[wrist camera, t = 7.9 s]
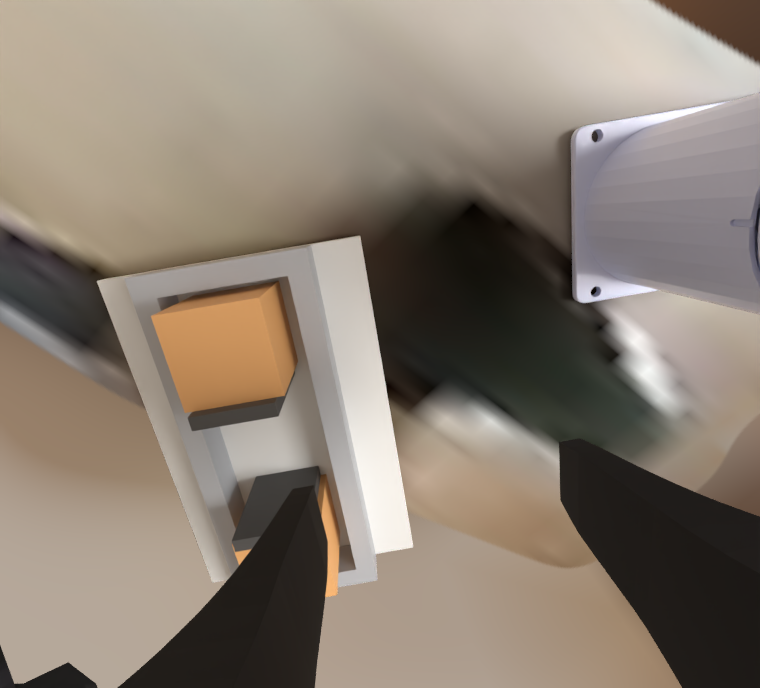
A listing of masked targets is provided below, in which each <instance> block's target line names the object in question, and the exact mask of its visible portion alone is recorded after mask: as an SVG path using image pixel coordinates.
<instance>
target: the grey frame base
mask: <svg viewBox="0 0 760 688" xmlns="http://www.w3.org/2000/svg"><path fill="white" fill-rule="evenodd" d="M275 281H279V283H280V288H281V292H282V296H283V300H284V304H285V308H286V312H287V317H288V321H289V325H290V329H291V333H292V337H293V341H294V346H295V350H296V354H297V358H298V363H297V365H296V368H295V374H294V377H293V380H292V382H291V385H290V388H289V390H288V393H287V395H286V398H285V401H284V403H283V406H282V409H281V411H280V414H279V416H278V417H272V418H267V419H261V420H255V421H249V422H244V423H238V424H232V425H226V426H221V427H215V428H209V429H203V430H198V431H192V430H191V427H190V424H189V421H188V416H189V415H190V414H191V413H192V412H188V413H185V412H184V409H183V407H182V404H181V401H180V398H179V395H178V392H177V389H176V387H175V384H174V381H173V378H172V375H171V372H170V370H169V367H168V364H167V361H166V358H165V355H164V352H163V350H162V347H161V344H160V341H159V338H158V335H157V333H156V330H155V327H154V324H153V321H152V318H151V316H152V315H154V314H156V313H158V312H160V311H162V310H164V309H166V308H168V307H171V306H173V305H175V304H177V303H179V302H181V301H183V300H185V299H187V298H189V297H191V296H193V295H199V294H205V293H211V292H217V291H222V290H228V289H234V288H240V287H246V286H252V285H257V284H263V283H269V282H275ZM97 284H98V286H99V289H100V291H101V294H102V297H103V299H104V302H105V304H106V307H107V310H108V312H109V315H110V317H111V320H112V323H113V325H114V328H115V330H116V333H117V336H118V338H119V341H120V343H121V346H122V349H123V351H124V354H125V356H126V359H127V362H128V364H129V367H130V369H131V372H132V375H133V377H134V380H135V382H136V385H137V388H138V390H139V393H140V395H141V398H142V401H143V403H144V406H145V408H146V411H147V414H148V416H149V419H150V421H151V424H152V426H153V429H154V432H155V434H156V437H157V440H158V442H159V445H160V447H161V450H162V453H163V455H164V458H165V460H166V463H167V466H168V468H169V471H170V473H171V476H172V479H173V481H174V484H175V487H176V489H177V492H178V494H179V497H180V499H181V502H182V505H183V507H184V510H185V512H186V515H187V517H188V520H189V523H190V525H191V528H192V531H193V533H194V536H195V538H196V541H197V544H198V546H199V549H200V551H201V554H202V557H203V559H204V562H205V565H206V567H207V570H208V572H209V575H210V577H211V580H212V582H213V583H214V582H219V581H225V580H228V579H229V578H230V577H231V575H232V574H233V573H234V571H235V570H236V569H237V568H238V566H239V565H240V564H241V562H242V561H243V560H244V558H245V557H246V556H247V555H248V553H249V552H250V551H251V549H252V548H253V546H254V545H255V544H256V542H257V541H258V539H259V538H260V537H261V535H262V534H263V532H264V531H265V529H266V528H267V526H268V525H269V524H270V522H271V521H272V519H273V518H274V516H275V515H276V513H277V511H278V510H279V508H280V507H281V505H282V504H283V502H284V501H285V499H286V498H287V496H288V495H289V493H290V492H291V491H292V489H295V488H300V487H306V486H312V485H314V489H315V493H316V497H317V501H318V505H319V509H320V512H321V516H322V520H323V524H324V528H325V532H326V536H327V540H328V576H327V586H326V594H325V597H329V596H335V595H337V590H338V587H343V586H348V585H354V584H359V583H365V582H371V581H376V580H377V565H376V554H378V553H383V552H389V551H395V550H401V549H406V548H412V547H413V542H412V536H411V531H410V525H409V520H408V513H407V507H406V501H405V496H404V490H403V484H402V478H401V472H400V466H399V460H398V455H397V449H396V443H395V437H394V431H393V425H392V419H391V414H390V408H389V402H388V396H387V390H386V384H385V378H384V373H383V367H382V361H381V355H380V349H379V343H378V337H377V332H376V326H375V320H374V314H373V308H372V302H371V296H370V291H369V285H368V279H367V273H366V267H365V261H364V255H363V250H362V244H361V238H360V235H359V236H353V237H347V238H342V239H336V240H330V241H324V242H318V243H312V244H306V245H300V246H295V247H289V248H283V249H277V250H271V251H265V252H259V253H253V254H247V255H242V256H236V257H230V258H224V259H218V260H212V261H206V262H200V263H195V264H189V265H183V266H177V267H171V268H165V269H159V270H153V271H148V272H142V273H136V274H130V275H124V276H118V277H112V278H107V279H103V280H99V281H97Z"/></svg>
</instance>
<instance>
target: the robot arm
mask: <svg viewBox="0 0 760 688" xmlns="http://www.w3.org/2000/svg"><path fill="white" fill-rule="evenodd" d="M593 131H595V132H597V134H598V139H597V141H596V142H594V141H593V140H592V138H591V136H592V133H593ZM571 204H572V294H573V298H574V299H575V300H576V301H578V302H580V303H589V302H595V301H600V300H606V299H612V298H618V297H624V296H630V295H635V294H641V293H647V292H653V291H659V290H661V291H665V292H669V293H673V294H677V295H681V296H685V297H690V298H694V299H698V300H702V301H706V302H710V303H714V304H718V305H723V306H727V307H731V308H735V309H739V310H743V311H747V312H752V313H756V314H760V92H759V93H756V94H753V95H750V96H746V97H743V98H740V99H737V100H732V101H726V102H721V103H715V104H709V105H703V106H697V107H691V108H685V109H679V110H673V111H667V112H661V113H655V114H649V115H643V116H637V117H632V118H626V119H620V120H614V121H608V122H602V123H596V124H590V125H585V126H582V127H580V128H577V129H576V130H575V131H574V133H573V135H572V137H571ZM593 287H596V289H597V290H596V293H595V294H594V295H591V290H592V289H593ZM559 453H560V497H561V502H562V504H563V506H564V508H565V509H566V511H567V513H568V515H569V517H570V519H571V520H572V522H573V524H574V526H575V527H576V529H577V531H578V533H579V534H580V536H581V537H582V538H583V540H584V541H585V543H586V544H587V545H588V547H589V548H590V550H591V551H592V552H593V554H594V555H595V557H596V558H597V559H598V561H599V562H600V563H601V565H602V566H603V568H604V569H605V570H606V572H607V573H608V574H609V576H610V577H611V579H612V580H613V581H614V583H615V584H616V585H617V587H618V588H619V590H620V591H621V592H622V594H623V595H624V596H625V598H626V599H627V600H628V602H629V603H630V605H631V606H632V607H633V609H634V610H635V612H636V613H637V614H638V616H639V618H640V619H641V620H642V622H643V623H644V625H645V626H646V628H647V629H648V631H649V633H650V634H651V636H652V638H653V639H654V641H655V642H656V644H657V646H658V648H659V649H660V651H661V653H662V654H663V656H664V658H665V659H666V661H667V663H668V664H669V666H670V668H671V669H672V671H673V673H674V674H675V676H676V678H677V679H678V681H679V683H680V685H681V686H682V688H760V517H759V516H756V515H754V514H751V513H748V512H745V511H742V510H740V509H737V508H734V507H732V506H729V505H726V504H723V503H720V502H718V501H715V500H713V499H710V498H708V497H705V496H703V495H700V494H698V493H696V492H693V491H691V490H689V489H686V488H684V487H682V486H679V485H677V484H675V483H672V482H670V481H668V480H666V479H664V478H661V477H659V476H657V475H655V474H653V473H651V472H649V471H647V470H644V469H642V468H640V467H638V466H636V465H634V464H632V463H630V462H628V461H626V460H624V459H622V458H620V457H618V456H616V455H614V454H612V453H610V452H608V451H606V450H604V449H602V448H600V447H598V446H596V445H593V444H591V443H589V442H587V441H585V440H582V439H574V440H569V441H563V442H559ZM327 576H328V540H327V536H326V532H325V528H324V524H323V520H322V516H321V512H320V509H319V505H318V501H317V497H316V493H315V489H314V485H312V486H306V487H300V488H295V489H292V491H291V492H290V493H289V495H288V496H287V498H286V499H285V501H284V502H283V504H282V505H281V507H280V508H279V510H278V511H277V513H276V515H275V516H274V518H273V519H272V521H271V522H270V524H269V525H268V526H267V528H266V529H265V531H264V532H263V534H262V535H261V537H260V538H259V539H258V541H257V542H256V544H255V545H254V546H253V548H252V549H251V551H250V552H249V553H248V555H247V556H246V557H245V558H244V560H243V561H242V562H241V564H240V565H239V566H238V568H237V569H236V570H235V571H234V573H233V574H232V575H231V577H230V578H229V579H228V580H227V581H226V583H225V584H224V585H223V586H222V587H221V589H220V590H219V591H218V592H217V593H216V594H215V595H214V596H213V598H212V599H211V600H210V601H209V602H208V603H207V604H206V605H205V606H204V607H203V608H202V610H201V611H200V612H199V613H198V614H197V615H196V616H195V617H194V618H193V619H192V620H191V621H190V622H189V623H188V624H187V625H186V626H185V627H184V628H183V629H182V630H181V631H180V632H179V633H178V634H177V635H176V636H175V637H174V638H173V639H171V641H169V642H168V643H167V644H166V645H165V646H164V647H163V648H162V649H161V650H160V651H159V652H158V653H157V654H156V655H155V656H153V658H151V659H150V660H149V661H148V662H147V663H146V664H145V665H144V666H142V667H141V668H140V669H139V670H138V671H137V672H136V673H134V674H133V675H132V676H131V677H130V678H128V679H127V680H126V681H125V682H124V683H123V684H121V685H120V686H119V687H118V688H315V678H316V667H317V658H318V651H319V643H320V635H321V626H322V618H323V610H324V603H325V594H326V586H327Z"/></svg>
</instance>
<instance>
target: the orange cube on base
mask: <svg viewBox="0 0 760 688" xmlns="http://www.w3.org/2000/svg"><path fill="white" fill-rule="evenodd" d="M151 318H152V321H153V324H154V327H155V330H156V333H157V335H158V338H159V341H160V344H161V347H162V350H163V352H164V355H165V358H166V361H167V364H168V367H169V370H170V372H171V375H172V378H173V381H174V384H175V387H176V389H177V392H178V395H179V398H180V401H181V404H182V407H183V409H184V412H185V413H188V412H192V413H191V414H190V415H189V416H188V421H189V424H190V427H191V430H192V431H198V430H203V429H209V428H215V427H221V426H226V425H232V424H238V423H244V422H249V421H255V420H261V419H267V418H272V417H278V416H279V414H280V411H281V409H282V406H283V403H284V401H285V398H286V395H287V393H288V390H289V388H290V385H291V382H292V380H293V377H294V374H295V368H296V365H297V363H298V358H297V354H296V350H295V346H294V341H293V337H292V333H291V329H290V325H289V321H288V317H287V312H286V308H285V304H284V300H283V296H282V292H281V288H280V283H279V281H275V282H269V283H263V284H257V285H252V286H246V287H240V288H234V289H228V290H222V291H217V292H211V293H205V294H199V295H193V296H191V297H189V298H187V299H185V300H183V301H181V302H179V303H177V304H175V305H173V306H171V307H168V308H166V309H164V310H162V311H160V312H158V313H156V314H154V315H152V316H151Z"/></svg>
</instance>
